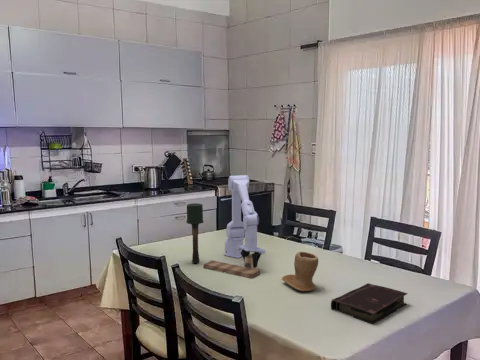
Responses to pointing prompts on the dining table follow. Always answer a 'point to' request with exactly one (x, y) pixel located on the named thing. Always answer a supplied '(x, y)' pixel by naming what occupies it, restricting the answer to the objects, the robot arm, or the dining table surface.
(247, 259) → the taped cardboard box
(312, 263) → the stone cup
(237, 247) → the robot arm
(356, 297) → the diary
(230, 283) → the dining table surface
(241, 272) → the board
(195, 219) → the potato masher grenade
